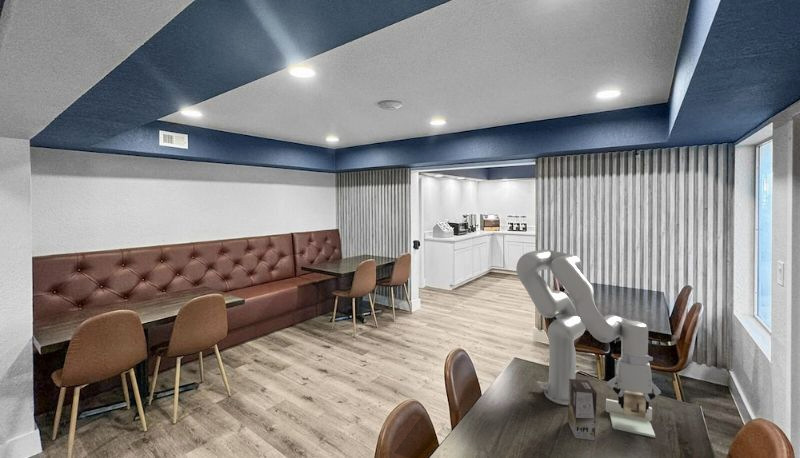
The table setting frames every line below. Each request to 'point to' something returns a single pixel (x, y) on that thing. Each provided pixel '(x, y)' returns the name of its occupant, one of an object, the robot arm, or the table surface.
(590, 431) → the coffee box
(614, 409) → the cream screen
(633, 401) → the maple cube
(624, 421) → the sage pad
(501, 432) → the table surface
